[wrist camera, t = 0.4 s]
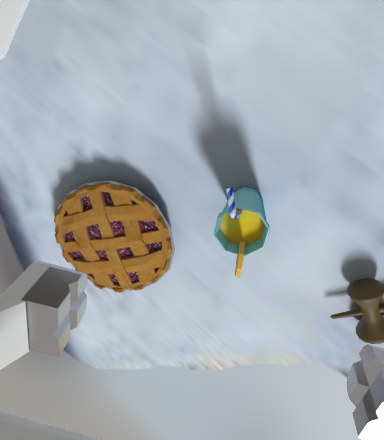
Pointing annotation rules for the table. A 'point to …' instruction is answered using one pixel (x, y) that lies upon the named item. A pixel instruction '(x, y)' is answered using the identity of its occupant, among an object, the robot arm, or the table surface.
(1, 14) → the base plate
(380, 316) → the kendama
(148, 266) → the pie
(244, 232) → the cup
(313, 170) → the table surface
